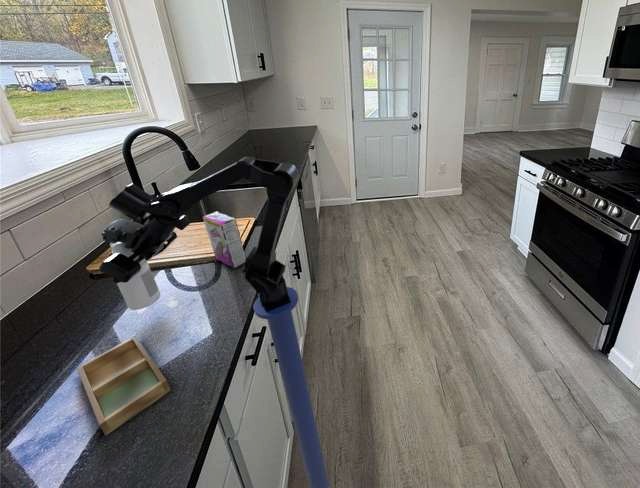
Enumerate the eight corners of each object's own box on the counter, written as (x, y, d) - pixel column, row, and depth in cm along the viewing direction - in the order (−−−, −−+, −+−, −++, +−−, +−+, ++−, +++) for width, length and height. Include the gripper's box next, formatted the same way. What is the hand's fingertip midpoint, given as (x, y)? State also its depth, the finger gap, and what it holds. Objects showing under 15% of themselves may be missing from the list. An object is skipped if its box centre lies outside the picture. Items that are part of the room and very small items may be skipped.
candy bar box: (214, 260, 106) (201, 216, 100) (229, 252, 110) (217, 210, 104) (233, 269, 100) (220, 224, 94) (248, 261, 104) (236, 217, 98)
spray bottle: (166, 295, 83) (142, 236, 77) (138, 313, 77) (109, 251, 71) (151, 289, 86) (127, 232, 79) (122, 306, 80) (93, 246, 74)
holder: (139, 344, 74) (135, 335, 72) (171, 390, 62) (166, 380, 61) (82, 377, 66) (76, 367, 65) (105, 435, 55) (99, 425, 54)
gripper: (150, 195, 81) (122, 236, 84) (89, 229, 64) (57, 279, 67) (190, 219, 84) (161, 258, 88) (143, 258, 67) (110, 305, 70)
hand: (126, 272), depth 78 cm, fingers closed on spray bottle, 7 cm apart
